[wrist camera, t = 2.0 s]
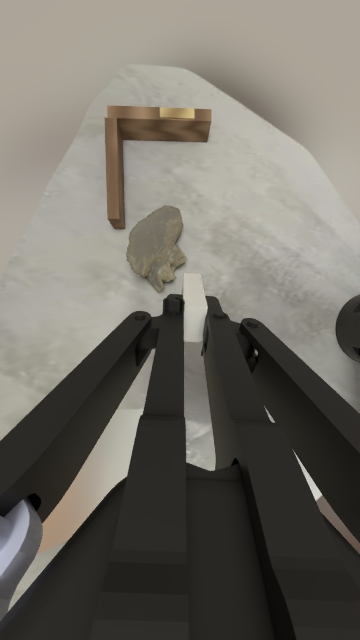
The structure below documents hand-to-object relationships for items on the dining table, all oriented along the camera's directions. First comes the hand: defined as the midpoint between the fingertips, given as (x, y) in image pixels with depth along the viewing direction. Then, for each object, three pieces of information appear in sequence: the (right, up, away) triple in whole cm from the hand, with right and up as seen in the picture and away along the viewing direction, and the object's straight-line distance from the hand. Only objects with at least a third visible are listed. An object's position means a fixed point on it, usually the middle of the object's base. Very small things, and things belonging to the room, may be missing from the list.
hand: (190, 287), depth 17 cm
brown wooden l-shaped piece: (-5, +25, +19) cm, 31 cm away
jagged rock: (-4, +10, +20) cm, 23 cm away
